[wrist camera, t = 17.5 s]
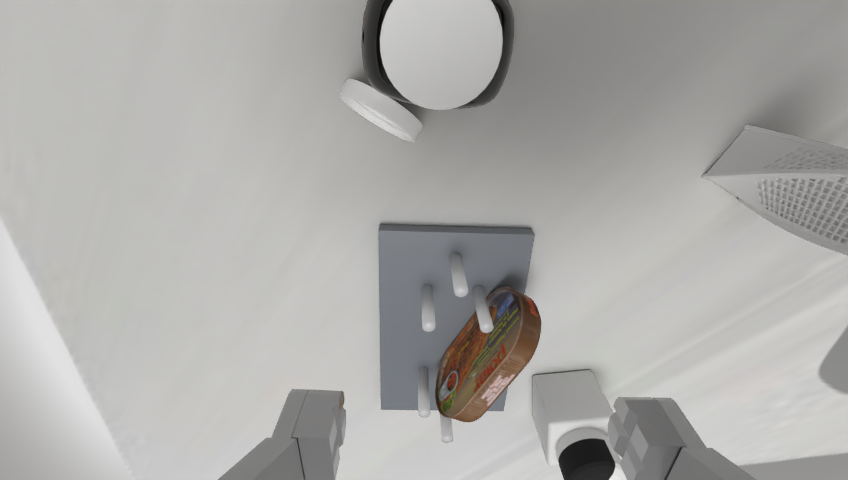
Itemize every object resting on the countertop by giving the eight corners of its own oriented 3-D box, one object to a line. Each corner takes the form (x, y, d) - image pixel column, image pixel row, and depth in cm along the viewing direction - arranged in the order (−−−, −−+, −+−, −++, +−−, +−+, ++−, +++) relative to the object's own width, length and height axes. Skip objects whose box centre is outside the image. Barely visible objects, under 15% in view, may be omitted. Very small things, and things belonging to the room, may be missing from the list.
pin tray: (530, 228, 40) (554, 265, 33) (501, 401, 50) (514, 456, 44) (379, 224, 39) (372, 261, 33) (382, 399, 50) (376, 455, 43)
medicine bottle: (531, 415, 52) (562, 513, 41) (531, 374, 48) (564, 468, 38) (587, 409, 51) (632, 506, 41) (590, 368, 48) (641, 461, 37)
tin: (506, 270, 40) (527, 323, 33) (531, 283, 41) (557, 337, 33) (431, 369, 46) (433, 433, 38) (454, 379, 46) (461, 444, 39)
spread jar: (503, -1, 31) (547, -24, 21) (478, 144, 36) (503, 184, 26) (349, -23, 30) (313, -58, 20) (344, 128, 35) (314, 164, 25)
